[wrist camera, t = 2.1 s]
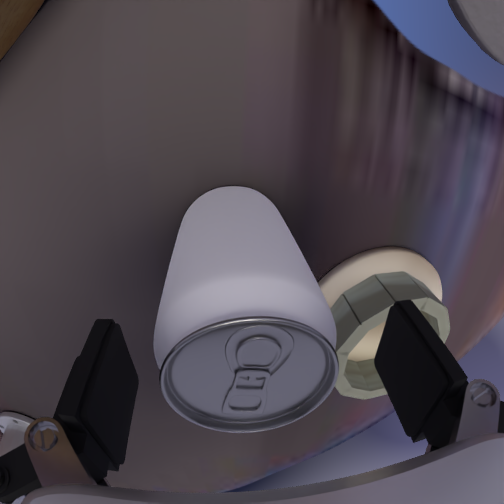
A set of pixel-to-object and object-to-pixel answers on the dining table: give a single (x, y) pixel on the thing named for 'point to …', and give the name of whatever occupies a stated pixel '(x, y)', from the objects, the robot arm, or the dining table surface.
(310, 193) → the dining table surface
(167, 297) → the can
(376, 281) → the cup holder
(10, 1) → the wooden carving
